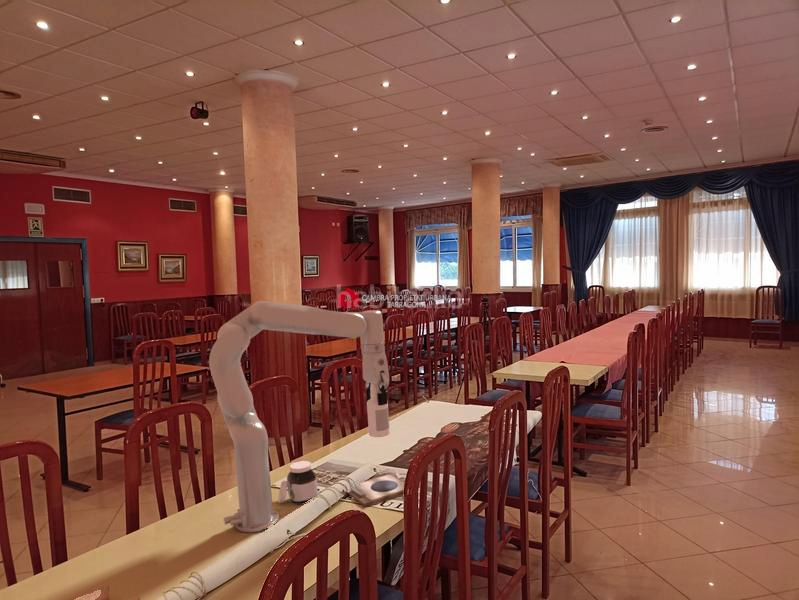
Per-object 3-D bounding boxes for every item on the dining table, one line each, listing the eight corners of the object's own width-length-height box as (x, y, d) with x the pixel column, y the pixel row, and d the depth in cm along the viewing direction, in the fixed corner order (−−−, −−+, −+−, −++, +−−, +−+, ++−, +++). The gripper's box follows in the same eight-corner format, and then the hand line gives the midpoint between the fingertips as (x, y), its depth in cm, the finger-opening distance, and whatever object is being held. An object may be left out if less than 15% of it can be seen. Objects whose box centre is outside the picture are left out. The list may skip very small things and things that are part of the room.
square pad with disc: (364, 507, 168) (364, 501, 168) (342, 490, 181) (342, 484, 181) (413, 491, 177) (413, 485, 177) (389, 476, 191) (388, 470, 190)
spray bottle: (387, 437, 174) (383, 382, 173) (366, 437, 176) (362, 383, 174) (391, 430, 181) (387, 377, 180) (372, 431, 182) (368, 378, 181)
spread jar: (321, 500, 175) (318, 464, 175) (291, 512, 168) (287, 475, 167) (302, 490, 184) (299, 456, 184) (272, 501, 177) (269, 466, 176)
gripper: (396, 349, 171) (400, 405, 172) (370, 344, 186) (374, 395, 187) (375, 353, 167) (380, 410, 168) (350, 347, 182) (354, 400, 183)
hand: (377, 402), depth 177 cm, fingers closed on spray bottle, 6 cm apart
